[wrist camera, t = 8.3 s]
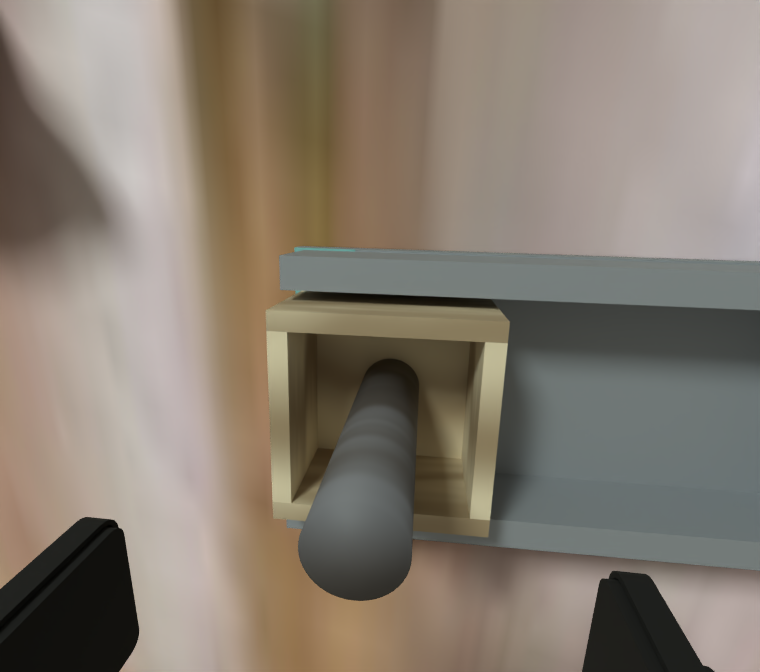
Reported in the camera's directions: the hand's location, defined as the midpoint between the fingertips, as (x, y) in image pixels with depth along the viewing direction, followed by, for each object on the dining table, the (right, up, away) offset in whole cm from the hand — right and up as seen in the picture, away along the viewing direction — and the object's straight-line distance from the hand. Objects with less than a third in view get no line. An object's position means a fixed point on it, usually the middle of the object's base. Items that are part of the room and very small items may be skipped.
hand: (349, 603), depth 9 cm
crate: (+1, +3, +14) cm, 15 cm away
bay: (+9, +3, +15) cm, 18 cm away
